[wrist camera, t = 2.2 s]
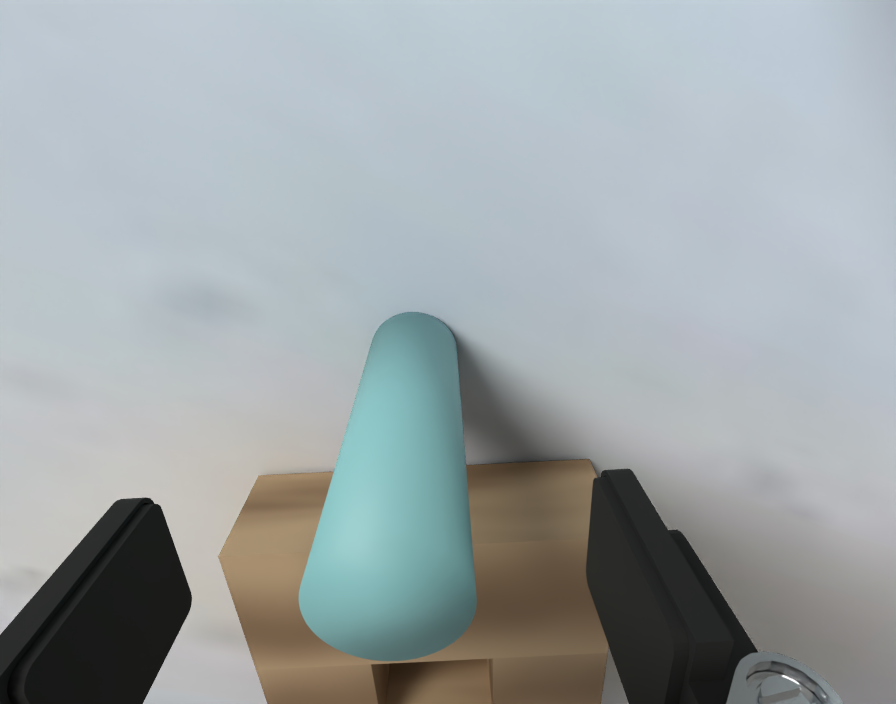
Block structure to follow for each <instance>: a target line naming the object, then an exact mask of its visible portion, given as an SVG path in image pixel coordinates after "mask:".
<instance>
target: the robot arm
mask: <svg viewBox="0 0 896 704" xmlns="http://www.w3.org/2000/svg"><path fill="white" fill-rule="evenodd" d="M586 578H587V584H588V587H589V590H590V593H591V596H592V599H593V602H594V605H595V608H596V610H597V613H598V616H599V619H600V622H601V625H602V628H603V630H604V633H605V636H606V639H607V642H608V645H609V648H610V651H611V653H612V656H613V659H614V662H615V665H616V668H617V671H618V673H619V676H620V679H621V682H622V685H623V688H624V691H625V693H626V696H627V699H628V702H629V704H843V702H842V700H841V698H840V697H839V696H838V694H837V693H836V692H835V691H834V689H833V688H832V687H831V686H830V685H829V683H828V682H827V681H825V680H824V679H823V678H822V677H821V676H820V675H818V674H817V673H816V672H815V671H814V670H812V669H811V668H809V667H807V666H806V665H804V664H802V663H801V662H799V661H797V660H795V659H793V658H790V657H787V656H784V655H782V654H779V653H772V652H764V651H763V652H758V651H757V649H756V648H755V646H754V645H753V643H752V642H751V640H750V638H749V637H748V635H747V634H746V632H745V631H744V629H743V627H742V626H741V624H740V623H739V621H738V619H737V618H736V616H735V615H734V613H733V612H732V610H731V608H730V607H729V605H728V604H727V602H726V601H725V599H724V597H723V596H722V594H721V593H720V591H719V590H718V588H717V586H716V585H715V583H714V582H713V580H712V579H711V577H710V575H709V574H708V572H707V571H706V569H705V567H704V566H703V564H702V563H701V561H700V560H699V558H698V556H697V555H696V553H695V552H694V550H693V549H692V547H691V545H690V544H689V542H688V541H687V539H686V538H685V537H684V535H683V534H682V533H681V532H680V531H678V530H667V528H666V526H665V525H664V523H663V521H662V520H661V518H660V516H659V515H658V513H657V511H656V510H655V508H654V506H653V505H652V503H651V501H650V500H649V498H648V496H647V495H646V493H645V491H644V490H643V488H642V486H641V485H640V483H639V481H638V480H637V478H636V476H635V475H634V473H633V472H632V470H630V469H617V470H604V471H602V473H601V477H598V478H594V480H593V487H592V499H591V511H590V524H589V536H588V548H587V560H586ZM191 602H192V595H191V591H190V589H189V586H188V583H187V580H186V577H185V574H184V571H183V569H182V566H181V563H180V560H179V557H178V554H177V551H176V548H175V546H174V543H173V540H172V537H171V534H170V531H169V528H168V526H167V523H166V520H165V517H164V514H163V511H162V509H161V507H160V506H159V505H158V504H154V502H153V501H152V500H151V499H150V498H132V499H120V500H117V501H116V502H115V503H114V504H113V505H112V506H111V507H110V508H109V510H108V511H107V512H106V513H105V514H104V515H103V516H102V518H101V519H100V520H99V521H98V522H97V523H96V525H95V526H94V527H93V528H92V529H91V530H90V532H89V533H88V534H87V535H86V536H85V537H84V538H83V540H82V541H81V542H80V543H79V544H78V545H77V547H76V548H75V549H74V550H73V551H72V552H71V554H70V555H69V556H68V557H67V558H66V559H65V560H64V562H63V563H62V564H61V565H60V566H59V567H58V569H57V570H56V571H55V572H54V573H53V574H52V576H51V577H50V578H49V579H48V580H47V581H46V583H45V584H44V585H43V586H42V587H41V588H40V589H39V591H38V592H37V593H36V594H35V595H34V596H33V598H32V599H31V600H30V601H29V602H28V603H27V605H26V606H25V607H24V608H23V609H22V610H21V611H20V613H19V614H18V615H17V616H16V617H15V618H14V620H13V621H12V622H11V623H10V624H9V625H8V627H7V628H6V629H5V630H4V631H3V632H2V633H1V635H0V704H143V702H144V700H145V698H146V696H147V694H148V692H149V690H150V688H151V686H152V684H153V682H154V680H155V678H156V676H157V674H158V672H159V670H160V668H161V666H162V664H163V662H164V660H165V658H166V656H167V654H168V652H169V650H170V649H171V647H172V645H173V643H174V641H175V639H176V637H177V635H178V633H179V631H180V629H181V627H182V625H183V623H184V621H185V619H186V617H187V615H188V613H189V611H190V607H191Z"/></svg>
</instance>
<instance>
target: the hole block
mask: <svg viewBox="0 0 896 704" xmlns="http://www.w3.org/2000/svg"><path fill="white" fill-rule="evenodd" d="M466 471H467V484H468V496H469V509H470V521H471V534H472V546H473V559H474V571H475V584H476V596H477V605H476V611H475V615H474V618H473V620H472V622H471V624H470V626H469V627H468V629H467V630H466V631H465V632H464V633H463V635H462V636H461V637H460V638H458V639H457V640H456V641H455V642H454V643H452V644H450V645H449V646H447V647H446V648H444V649H442V650H440V651H438V652H436V653H433V654H430V655H428V656H424V657H420V658H416V659H411V660H403V661H377V660H369V659H364V658H360V657H356V656H352V655H350V654H347V653H344V652H342V651H340V650H337V649H335V648H333V647H332V646H330V645H328V644H327V643H325V642H324V641H323V640H321V639H320V638H319V637H318V636H317V635H316V634H315V633H314V632H313V631H312V630H311V629H310V628H309V626H308V625H307V624H306V622H305V620H304V618H303V616H302V614H301V611H300V607H299V590H300V585H301V582H302V578H303V575H304V572H305V568H306V565H307V561H308V558H309V555H310V551H311V548H312V544H313V541H314V538H315V534H316V531H317V527H318V524H319V521H320V517H321V514H322V510H323V507H324V503H325V500H326V497H327V493H328V490H329V486H330V483H331V480H332V476H333V473H334V472H321V473H301V474H281V475H261V476H258V478H257V480H256V482H255V484H254V486H253V488H252V490H251V492H250V494H249V496H248V498H247V500H246V502H245V504H244V506H243V508H242V510H241V512H240V514H239V516H238V518H237V520H236V522H235V524H234V526H233V528H232V530H231V532H230V534H229V536H228V538H227V540H226V542H225V544H224V546H223V548H222V550H221V552H220V554H219V556H218V557H219V560H220V563H221V566H222V569H223V572H224V575H225V578H226V581H227V584H228V587H229V590H230V593H231V596H232V599H233V602H234V605H235V608H236V611H237V614H238V617H239V620H240V623H241V626H242V629H243V632H244V635H245V638H246V641H247V644H248V647H249V650H250V653H251V656H252V659H253V662H254V665H255V668H256V671H257V674H258V677H259V680H260V683H261V686H262V689H263V692H264V695H265V698H266V700H267V703H268V704H601V698H602V691H603V684H604V676H605V669H606V662H607V654H608V647H609V645H608V642H607V639H606V636H605V633H604V630H603V628H602V625H601V622H600V619H599V616H598V613H597V610H596V608H595V605H594V602H593V599H592V596H591V593H590V590H589V587H588V584H587V578H586V560H587V548H588V536H589V524H590V511H591V499H592V487H593V480H594V478H597V475H596V473H595V471H594V468H593V466H592V464H591V462H590V459H580V460H561V461H541V462H521V463H501V464H481V465H466Z"/></svg>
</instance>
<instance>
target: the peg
mask: <svg viewBox="0 0 896 704" xmlns="http://www.w3.org/2000/svg"><path fill="white" fill-rule="evenodd" d="M476 605H477V596H476V584H475V571H474V559H473V546H472V534H471V521H470V509H469V496H468V484H467V471H466V459H465V446H464V434H463V421H462V409H461V396H460V384H459V371H458V359H457V347H456V342H455V339H454V337H453V335H452V333H451V331H450V330H449V329H448V327H447V326H446V325H445V324H444V323H443V322H441V321H440V320H439V319H437V318H435V317H433V316H431V315H428V314H425V313H419V312H407V313H402V314H398V315H395V316H393V317H391V318H389V319H388V320H387V321H385V322H384V323H383V324H382V325H381V326H380V327H379V328H378V330H377V331H376V333H375V335H374V337H373V340H372V343H371V347H370V350H369V354H368V357H367V360H366V364H365V367H364V371H363V374H362V377H361V381H360V384H359V388H358V391H357V394H356V398H355V401H354V405H353V408H352V411H351V415H350V418H349V422H348V425H347V429H346V432H345V435H344V439H343V442H342V446H341V449H340V452H339V456H338V459H337V463H336V466H335V469H334V473H333V476H332V480H331V483H330V486H329V490H328V493H327V497H326V500H325V503H324V507H323V510H322V514H321V517H320V521H319V524H318V527H317V531H316V534H315V538H314V541H313V544H312V548H311V551H310V555H309V558H308V561H307V565H306V568H305V572H304V575H303V578H302V582H301V585H300V590H299V607H300V611H301V614H302V616H303V618H304V620H305V622H306V624H307V625H308V626H309V628H310V629H311V630H312V631H313V632H314V633H315V634H316V635H317V636H318V637H319V638H320V639H321V640H323V641H324V642H325V643H327V644H328V645H330V646H332V647H333V648H335V649H337V650H340V651H342V652H344V653H347V654H350V655H352V656H356V657H360V658H364V659H369V660H377V661H403V660H411V659H416V658H420V657H424V656H428V655H430V654H433V653H436V652H438V651H440V650H442V649H444V648H446V647H447V646H449V645H450V644H452V643H454V642H455V641H456V640H457V639H458V638H460V637H461V636H462V635H463V633H464V632H465V631H466V630H467V629H468V627H469V626H470V624H471V622H472V620H473V618H474V615H475V611H476Z"/></svg>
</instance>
